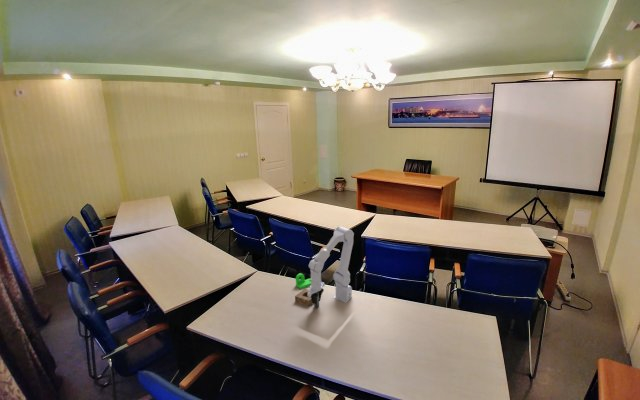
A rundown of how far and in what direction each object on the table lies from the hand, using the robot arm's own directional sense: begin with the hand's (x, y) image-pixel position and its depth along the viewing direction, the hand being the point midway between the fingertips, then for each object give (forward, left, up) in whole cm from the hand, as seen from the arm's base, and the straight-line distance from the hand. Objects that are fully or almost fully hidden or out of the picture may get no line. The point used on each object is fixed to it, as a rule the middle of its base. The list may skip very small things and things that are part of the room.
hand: (316, 302), depth 164 cm
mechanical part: (+20, -18, -3) cm, 27 cm away
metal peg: (0, 0, -3) cm, 3 cm away
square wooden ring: (+9, -3, -3) cm, 10 cm away
